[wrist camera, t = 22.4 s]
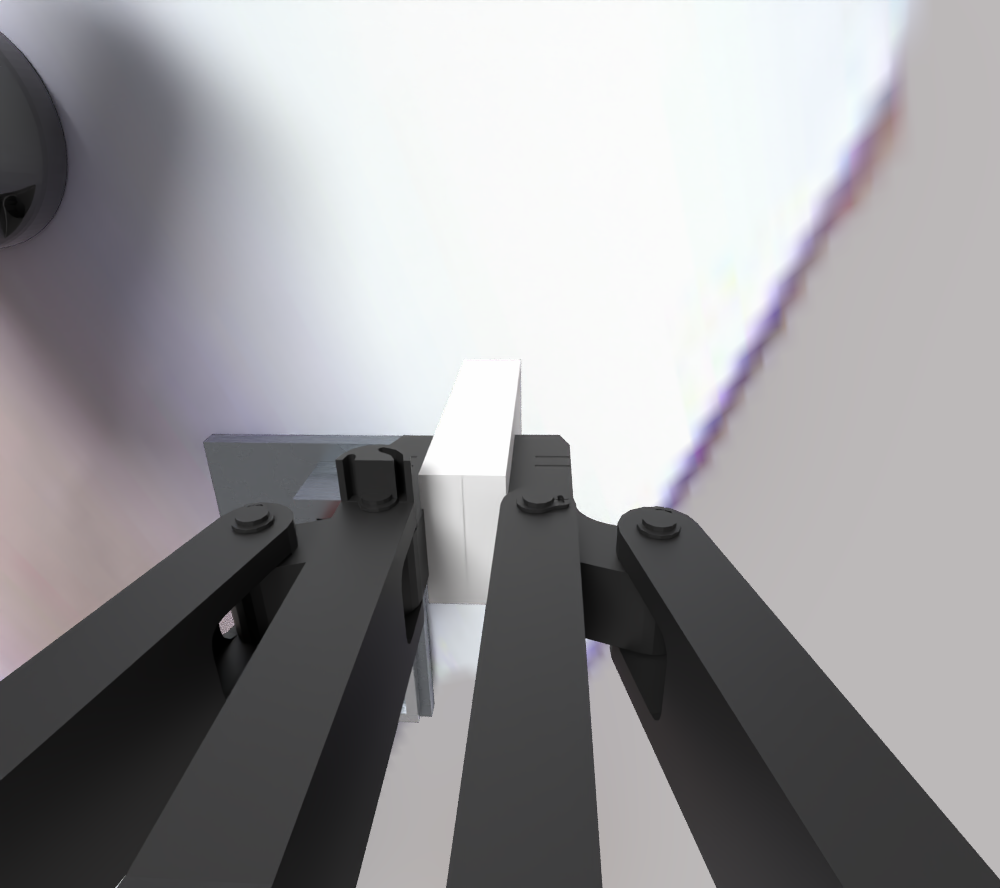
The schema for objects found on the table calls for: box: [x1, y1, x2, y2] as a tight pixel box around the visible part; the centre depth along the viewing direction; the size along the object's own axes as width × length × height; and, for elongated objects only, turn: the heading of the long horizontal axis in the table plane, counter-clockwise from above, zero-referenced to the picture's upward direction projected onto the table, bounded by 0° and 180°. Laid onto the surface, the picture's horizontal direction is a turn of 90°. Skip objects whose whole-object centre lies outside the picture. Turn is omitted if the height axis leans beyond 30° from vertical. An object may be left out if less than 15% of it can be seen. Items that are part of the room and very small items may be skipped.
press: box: [203, 434, 434, 723], centre depth 54 cm, size 16×28×8 cm, turn 1°
